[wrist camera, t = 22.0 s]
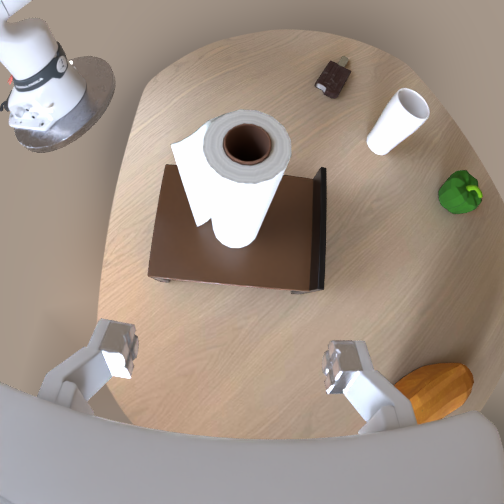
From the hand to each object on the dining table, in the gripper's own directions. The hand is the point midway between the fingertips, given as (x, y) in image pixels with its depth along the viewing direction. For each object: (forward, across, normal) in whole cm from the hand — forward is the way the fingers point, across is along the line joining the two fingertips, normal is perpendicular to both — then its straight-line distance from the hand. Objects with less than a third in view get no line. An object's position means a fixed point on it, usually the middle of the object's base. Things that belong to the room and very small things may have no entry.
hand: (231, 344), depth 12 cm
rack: (+33, 0, +16) cm, 37 cm away
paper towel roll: (+28, 0, +10) cm, 29 cm away
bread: (+14, -36, +35) cm, 52 cm away
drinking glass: (+49, -26, 0) cm, 55 cm away
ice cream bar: (+61, -18, -12) cm, 64 cm away
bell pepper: (+42, -43, +6) cm, 61 cm away
